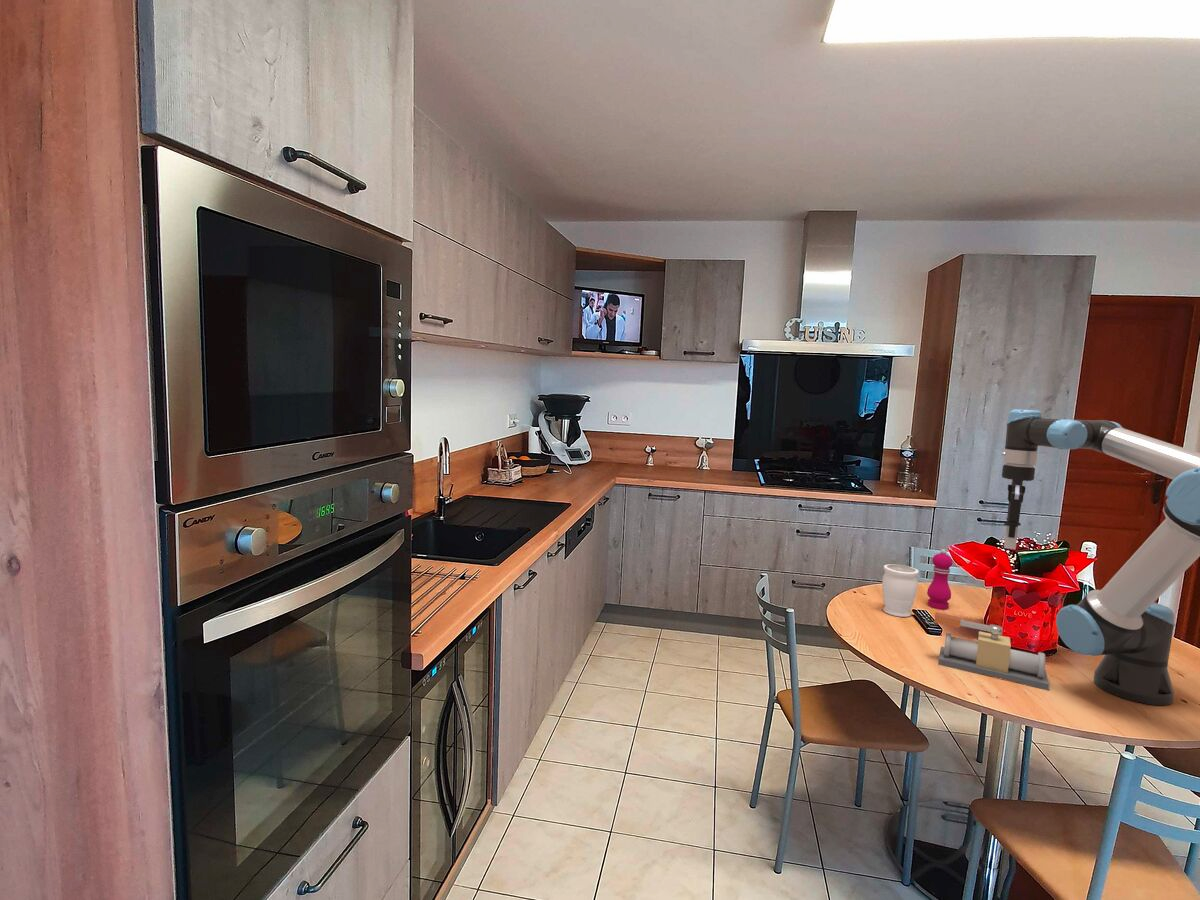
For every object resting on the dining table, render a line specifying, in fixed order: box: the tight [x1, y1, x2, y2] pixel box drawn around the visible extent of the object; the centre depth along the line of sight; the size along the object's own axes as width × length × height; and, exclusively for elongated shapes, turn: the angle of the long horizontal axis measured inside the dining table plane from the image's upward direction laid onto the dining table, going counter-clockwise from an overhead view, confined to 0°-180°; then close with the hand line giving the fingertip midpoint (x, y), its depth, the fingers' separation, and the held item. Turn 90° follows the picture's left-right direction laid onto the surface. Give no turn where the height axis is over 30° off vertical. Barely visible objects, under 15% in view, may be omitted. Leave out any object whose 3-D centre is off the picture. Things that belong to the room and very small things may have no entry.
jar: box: [881, 563, 919, 618], centre depth 204 cm, size 11×10×15 cm
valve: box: [938, 630, 1050, 691], centre depth 164 cm, size 24×10×10 cm, turn 58°
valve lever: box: [933, 612, 1003, 636], centre depth 167 cm, size 16×3×2 cm, turn 58°
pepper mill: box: [926, 548, 953, 611], centre depth 212 cm, size 7×7×20 cm
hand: (1009, 548), depth 176 cm, fingers closed
